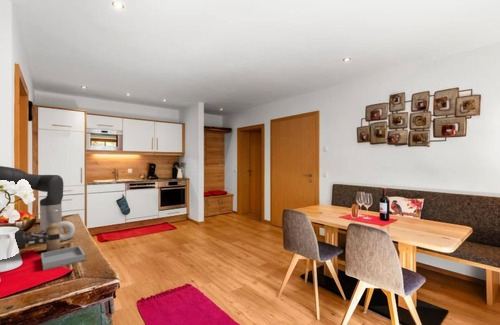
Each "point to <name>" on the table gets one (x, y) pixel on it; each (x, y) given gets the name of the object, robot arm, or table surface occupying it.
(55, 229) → the pepper mill
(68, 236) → the donut
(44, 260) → the tray
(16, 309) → the table surface
